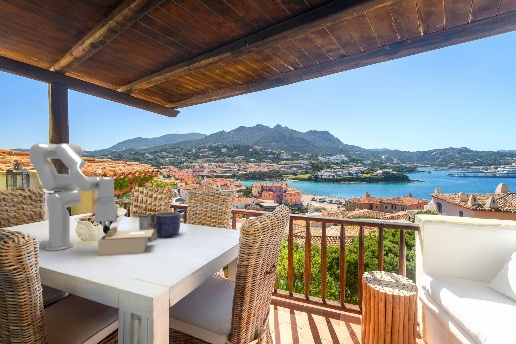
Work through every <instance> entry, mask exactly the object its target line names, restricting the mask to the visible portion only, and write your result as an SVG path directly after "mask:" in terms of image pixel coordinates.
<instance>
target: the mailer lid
mask: <svg viewBox="0 0 516 344" xmlns="http://www.w3.org/2000/svg"><path fill="white" fill-rule="evenodd" d="M153 232H154V230H139V229H137V230H118V226H112V227H110V230H109V231H108V232H107V237H106V238H105V239H126V238H147V237H151V236H152V234H153Z"/></svg>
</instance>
